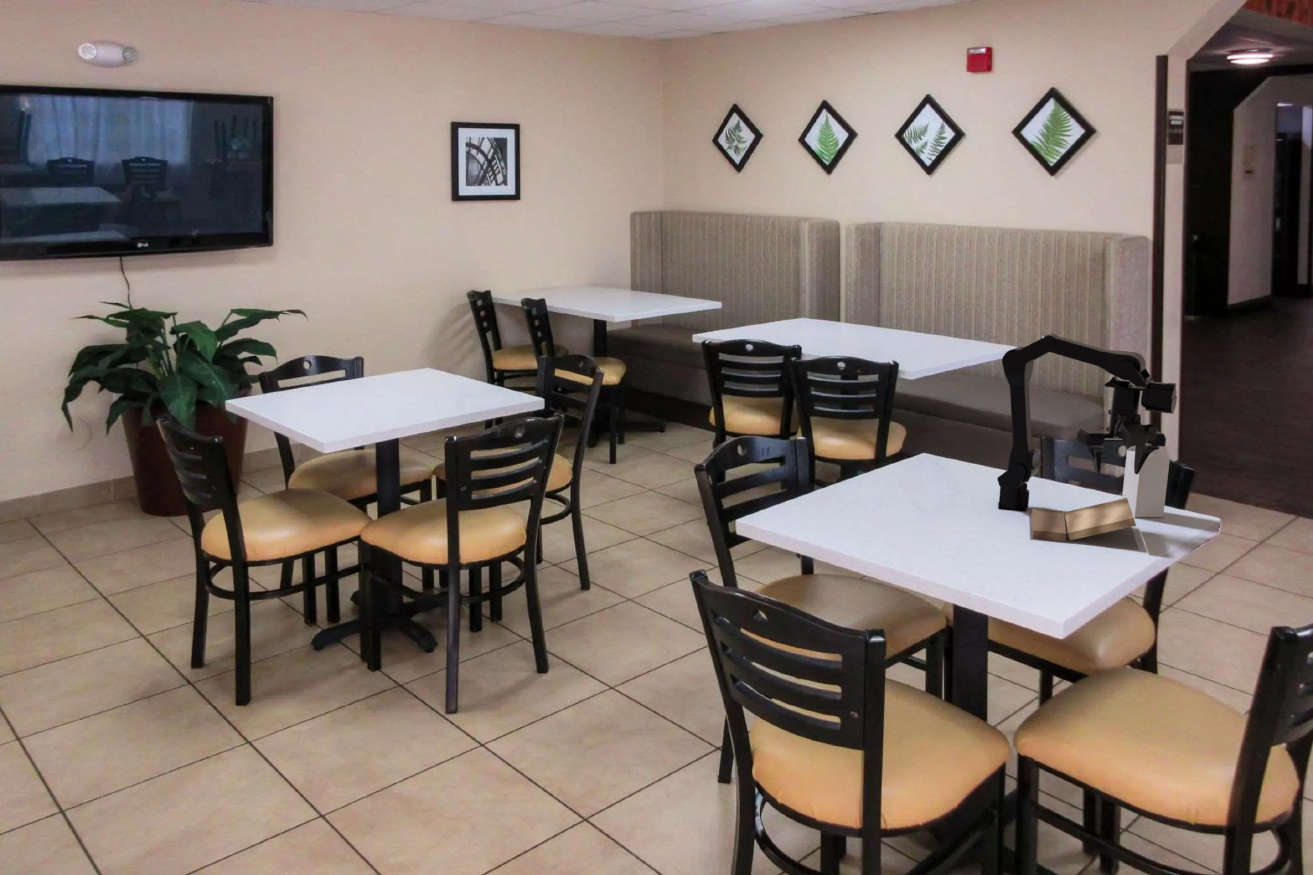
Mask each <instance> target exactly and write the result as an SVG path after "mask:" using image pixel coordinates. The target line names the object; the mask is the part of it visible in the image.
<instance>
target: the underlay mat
mask: <svg viewBox="0 0 1313 875" xmlns="http://www.w3.org/2000/svg"><path fill="white" fill-rule="evenodd" d="M1028 518H1029V519H1028V520H1029V540H1031V541H1040V542H1049V543H1050V542H1052V543H1062V544H1071V545H1080V546H1081V545H1082V546H1092V547H1101V548H1112V549H1122V550H1123V549H1124V550H1135V551H1140V548H1139V546H1138V545H1139V544H1138V542H1137V540H1136V536H1135V533H1134V531H1133V528H1132V527H1133V526H1132V527H1128V528H1123V529H1119V530H1114V531H1110V532H1105V533H1101V534H1096V535H1092V536H1087V537H1083V538H1079V539H1074V540H1070V539H1069V535H1068V531H1067V524H1066V517H1064V520H1065V527H1066V542H1065V541H1055V540H1044V539H1034V538H1032V514H1029V517H1028Z"/></svg>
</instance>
